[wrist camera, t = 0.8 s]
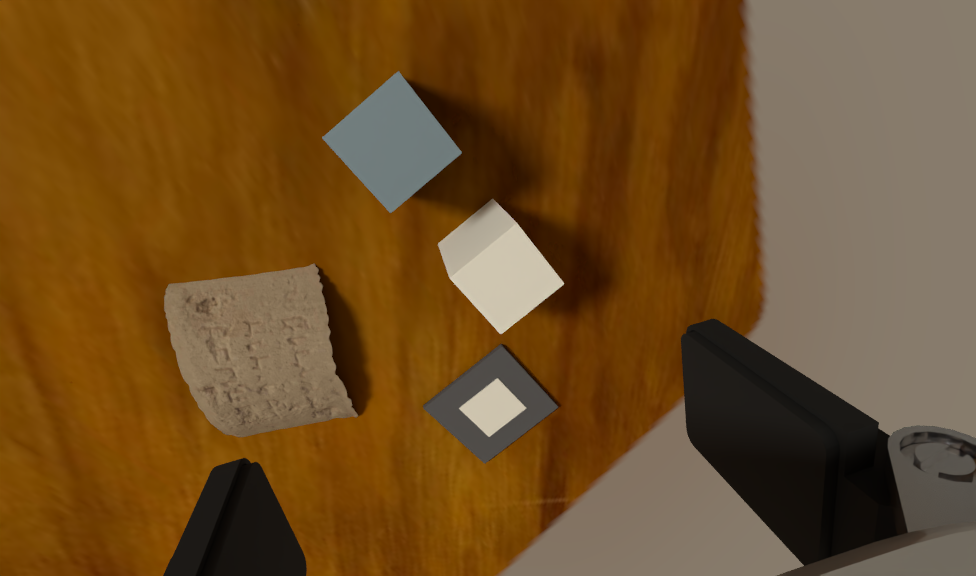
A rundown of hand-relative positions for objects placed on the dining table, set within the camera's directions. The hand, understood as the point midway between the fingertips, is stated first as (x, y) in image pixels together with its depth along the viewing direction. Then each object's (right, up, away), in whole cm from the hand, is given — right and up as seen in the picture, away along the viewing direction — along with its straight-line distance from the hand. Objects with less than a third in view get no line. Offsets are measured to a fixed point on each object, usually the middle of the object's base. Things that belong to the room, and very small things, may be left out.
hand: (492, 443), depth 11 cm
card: (0, -6, +30) cm, 31 cm away
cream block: (0, +6, +25) cm, 26 cm away
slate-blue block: (-6, +13, +21) cm, 26 cm away
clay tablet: (-16, -1, +26) cm, 30 cm away
